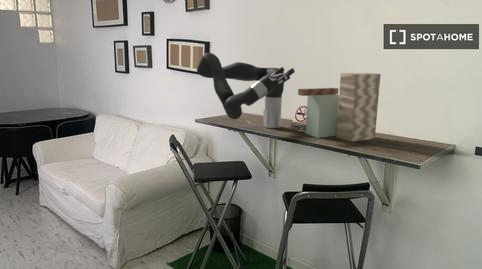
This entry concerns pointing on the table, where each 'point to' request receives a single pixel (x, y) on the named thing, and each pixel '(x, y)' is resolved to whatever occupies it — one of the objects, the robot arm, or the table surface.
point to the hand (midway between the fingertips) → (288, 69)
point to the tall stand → (358, 106)
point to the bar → (317, 91)
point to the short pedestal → (322, 115)
